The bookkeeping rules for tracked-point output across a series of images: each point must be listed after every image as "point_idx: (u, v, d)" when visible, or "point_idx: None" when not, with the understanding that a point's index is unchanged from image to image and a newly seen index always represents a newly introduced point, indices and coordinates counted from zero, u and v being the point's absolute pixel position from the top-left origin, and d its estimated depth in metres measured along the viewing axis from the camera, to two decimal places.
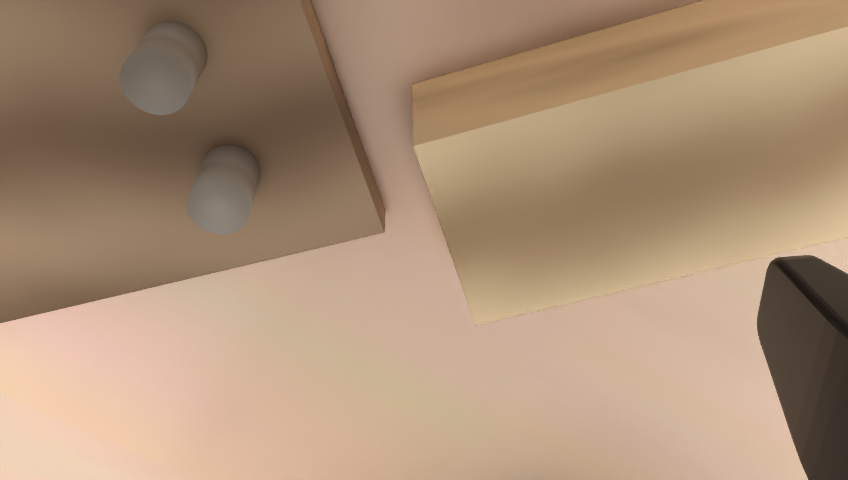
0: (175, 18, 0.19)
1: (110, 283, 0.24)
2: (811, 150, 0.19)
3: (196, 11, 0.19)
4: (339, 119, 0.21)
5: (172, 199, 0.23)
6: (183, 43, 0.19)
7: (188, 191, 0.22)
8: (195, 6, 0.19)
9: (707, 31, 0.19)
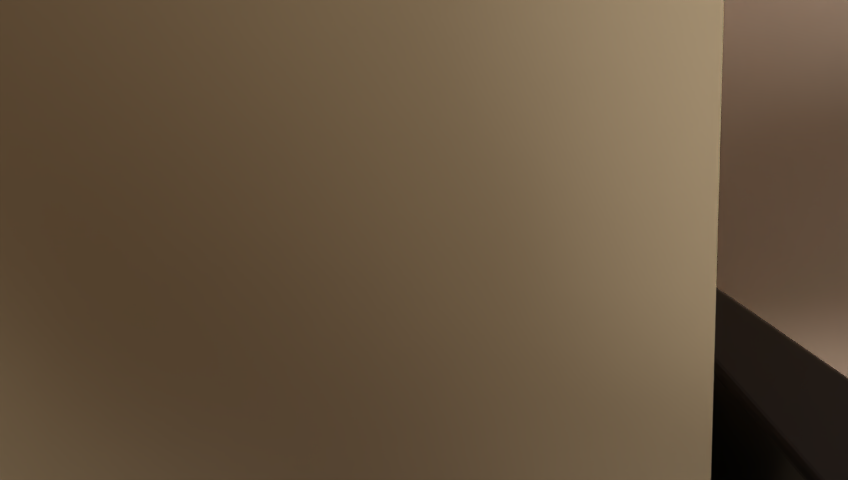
0: None
1: None
2: (294, 434, 0.06)
3: None
4: None
5: None
6: None
7: None
8: None
9: None
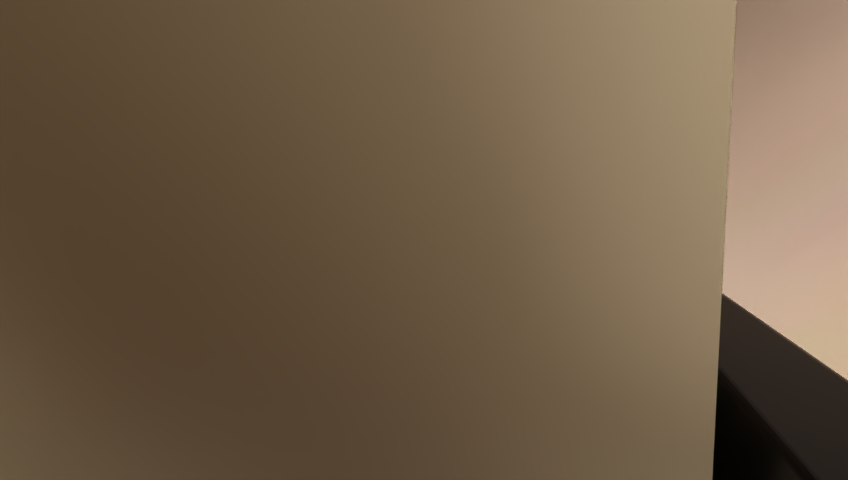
0: None
1: None
2: (296, 433, 0.06)
3: None
4: None
5: None
6: None
7: None
8: None
9: None
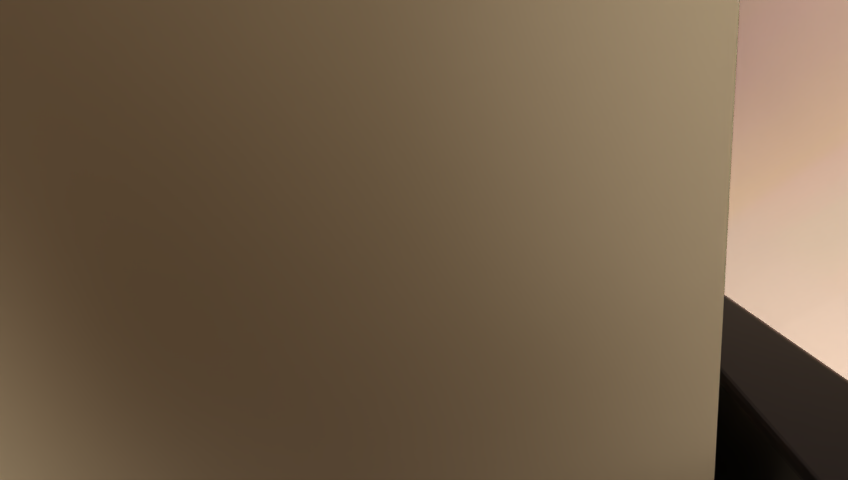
0: None
1: None
2: (293, 431, 0.06)
3: None
4: None
5: None
6: None
7: None
8: None
9: None
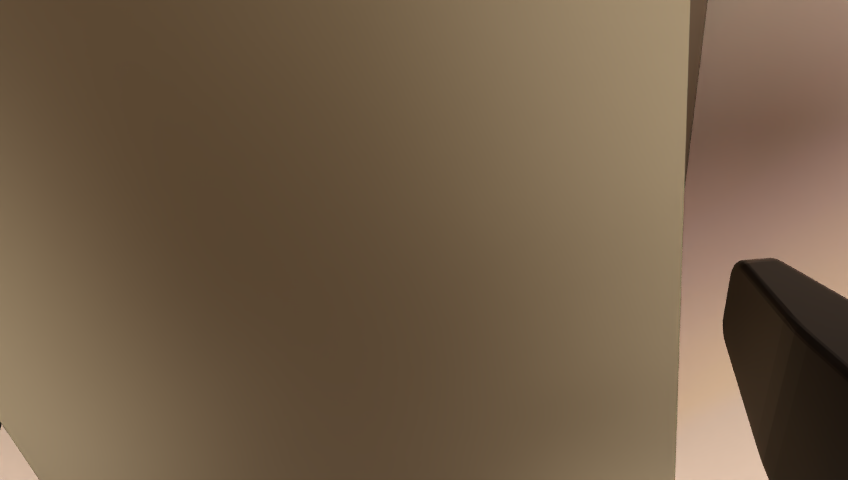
0: None
1: None
2: (315, 333, 0.07)
3: None
4: None
5: None
6: None
7: None
8: None
9: None
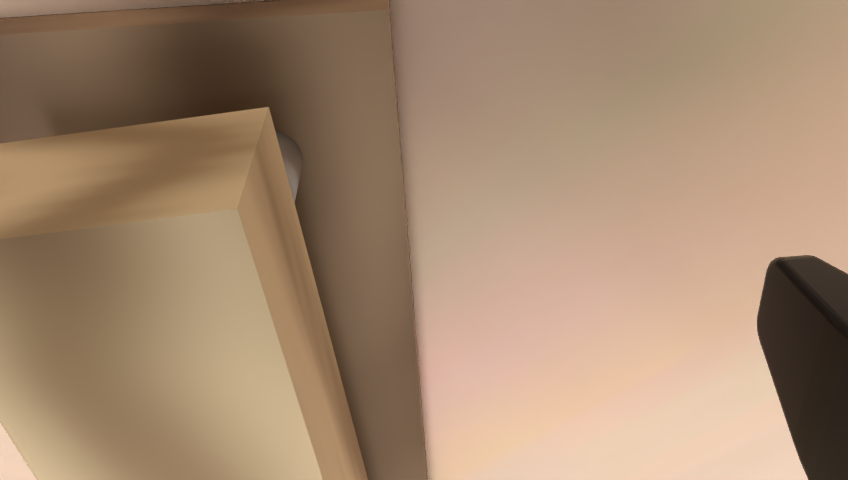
0: None
1: (395, 313, 0.22)
2: None
3: None
4: (215, 25, 0.17)
5: None
6: None
7: None
8: None
9: None
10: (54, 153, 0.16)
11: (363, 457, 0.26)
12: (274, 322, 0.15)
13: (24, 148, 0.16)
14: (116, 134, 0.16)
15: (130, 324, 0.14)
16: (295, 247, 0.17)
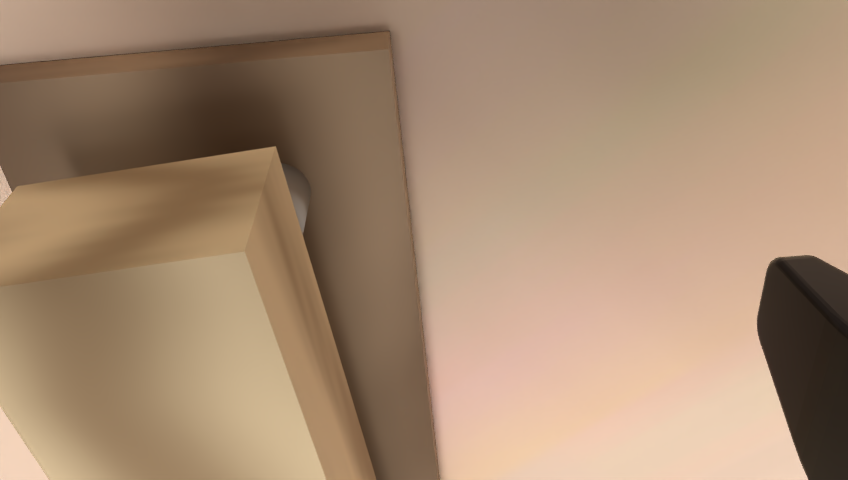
0: None
1: (404, 333, 0.23)
2: None
3: (99, 171, 0.20)
4: (224, 67, 0.18)
5: (309, 252, 0.21)
6: None
7: None
8: (94, 171, 0.20)
9: None
10: (74, 194, 0.17)
11: (377, 471, 0.26)
12: (283, 354, 0.15)
13: (47, 190, 0.17)
14: (133, 175, 0.17)
15: (148, 358, 0.15)
16: (304, 278, 0.18)
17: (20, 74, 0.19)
